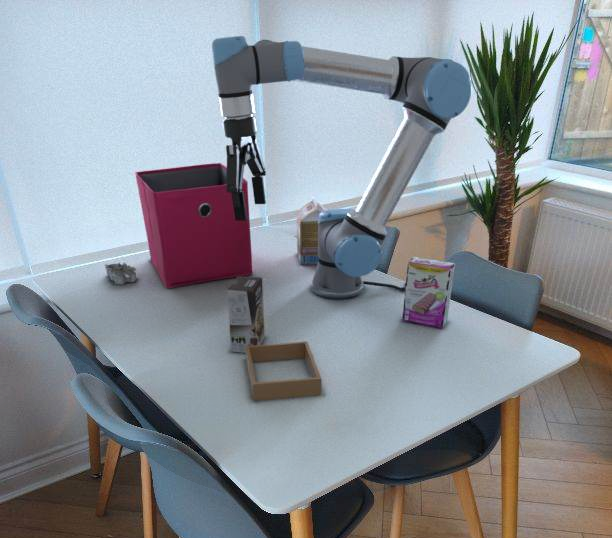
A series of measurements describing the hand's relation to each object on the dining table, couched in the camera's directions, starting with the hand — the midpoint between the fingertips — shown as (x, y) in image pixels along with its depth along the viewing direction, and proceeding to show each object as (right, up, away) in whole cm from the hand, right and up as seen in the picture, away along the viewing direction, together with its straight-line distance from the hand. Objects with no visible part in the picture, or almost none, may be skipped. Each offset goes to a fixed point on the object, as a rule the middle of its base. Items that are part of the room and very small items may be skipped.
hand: (251, 211), depth 147 cm
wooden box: (+8, -41, -11) cm, 43 cm away
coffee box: (-1, -32, +2) cm, 33 cm away
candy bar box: (+45, -25, +13) cm, 53 cm away
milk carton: (+16, +1, +54) cm, 56 cm away
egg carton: (-44, -8, +40) cm, 59 cm away
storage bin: (-21, -4, +47) cm, 51 cm away
